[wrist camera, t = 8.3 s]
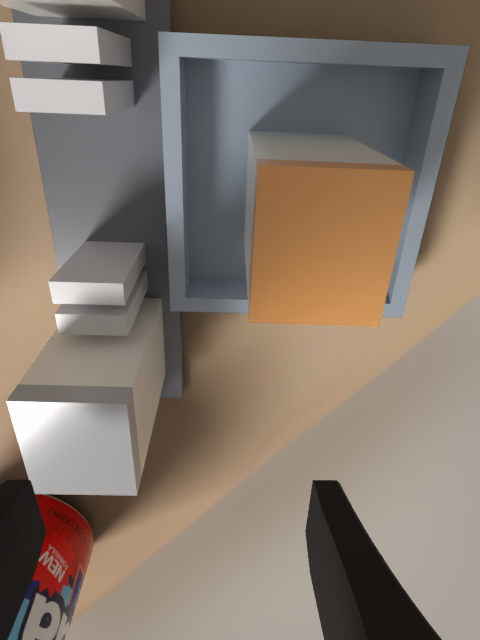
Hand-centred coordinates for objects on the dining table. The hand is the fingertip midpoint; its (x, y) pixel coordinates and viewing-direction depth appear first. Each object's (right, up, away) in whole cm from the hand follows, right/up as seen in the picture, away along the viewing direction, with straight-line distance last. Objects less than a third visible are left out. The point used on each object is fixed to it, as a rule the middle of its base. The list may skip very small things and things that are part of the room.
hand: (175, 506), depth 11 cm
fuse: (-4, +4, +9) cm, 10 cm away
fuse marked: (+4, +10, +5) cm, 12 cm away
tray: (+4, +10, +6) cm, 12 cm away
